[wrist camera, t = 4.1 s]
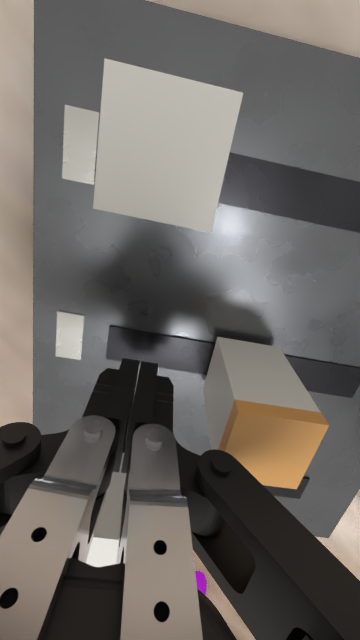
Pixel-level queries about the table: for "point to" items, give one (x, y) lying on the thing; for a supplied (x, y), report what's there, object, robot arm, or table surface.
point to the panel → (200, 246)
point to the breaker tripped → (261, 412)
